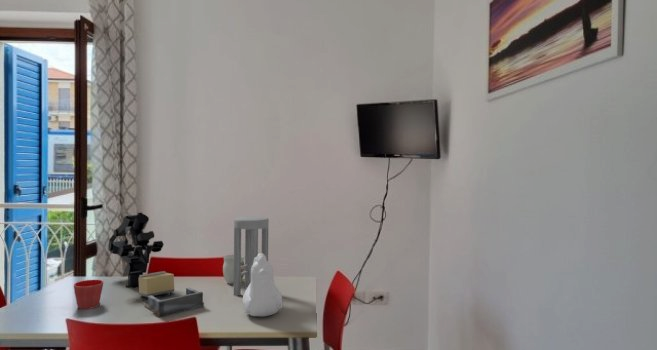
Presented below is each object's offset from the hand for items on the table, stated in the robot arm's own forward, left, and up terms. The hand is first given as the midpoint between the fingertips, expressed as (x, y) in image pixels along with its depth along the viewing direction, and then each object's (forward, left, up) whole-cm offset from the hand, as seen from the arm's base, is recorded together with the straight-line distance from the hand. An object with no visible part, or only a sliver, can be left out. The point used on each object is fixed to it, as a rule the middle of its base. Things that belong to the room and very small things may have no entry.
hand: (146, 263), depth 194 cm
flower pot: (-8, -24, -14) cm, 29 cm away
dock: (+20, -9, -15) cm, 26 cm away
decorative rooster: (+62, -2, -14) cm, 64 cm away
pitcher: (+27, +31, -14) cm, 44 cm away
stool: (+45, +17, -14) cm, 50 cm away
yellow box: (+11, -5, -13) cm, 17 cm away
